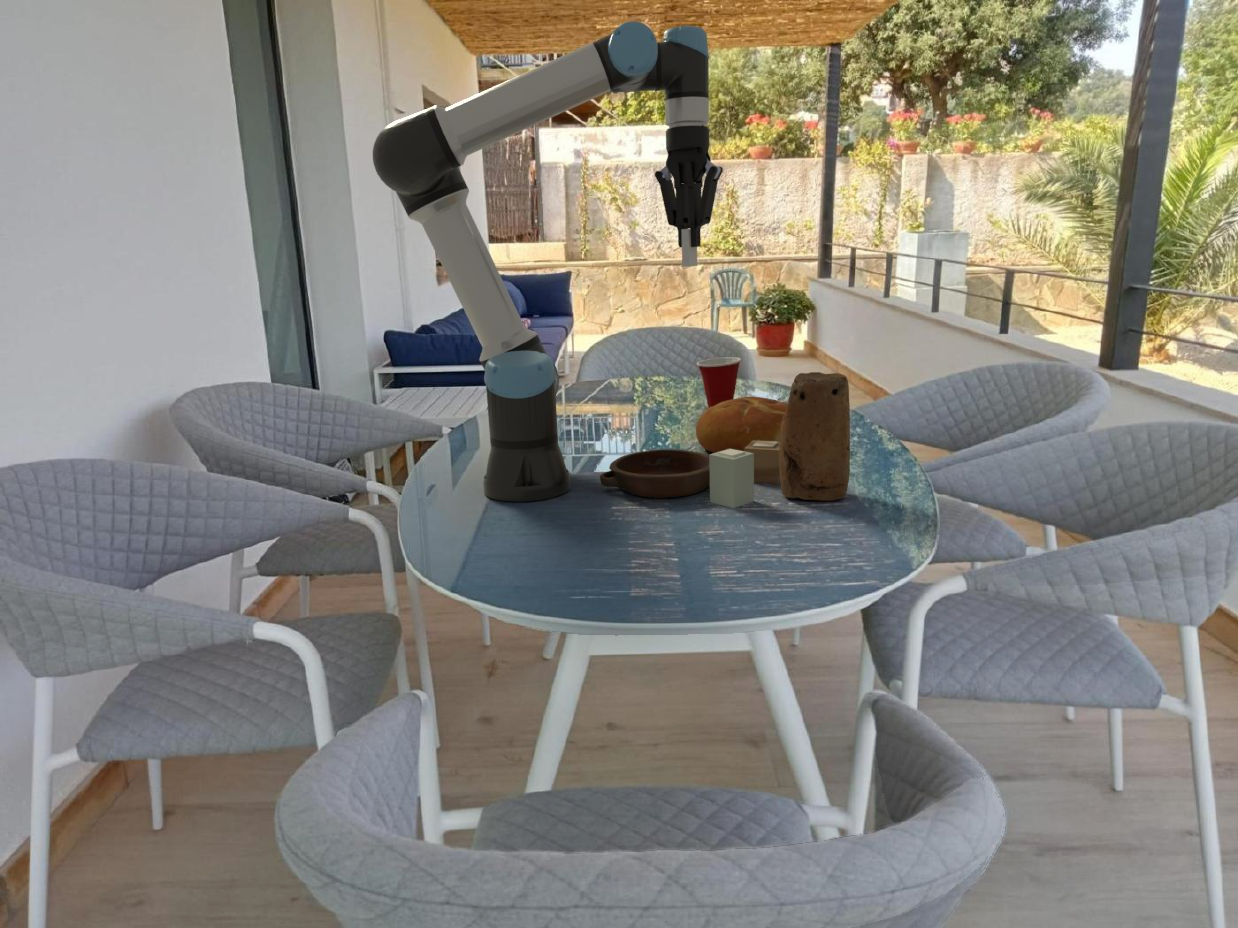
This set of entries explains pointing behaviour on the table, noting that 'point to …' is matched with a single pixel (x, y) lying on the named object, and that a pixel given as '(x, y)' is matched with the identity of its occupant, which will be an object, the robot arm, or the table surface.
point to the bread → (740, 423)
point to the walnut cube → (765, 460)
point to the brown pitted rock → (816, 438)
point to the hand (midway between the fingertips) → (689, 266)
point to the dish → (659, 473)
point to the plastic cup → (719, 378)
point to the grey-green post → (731, 478)
